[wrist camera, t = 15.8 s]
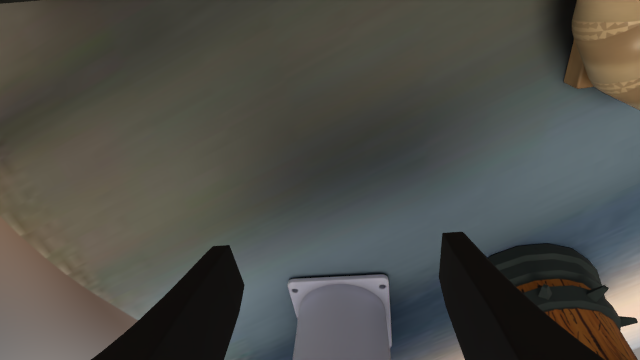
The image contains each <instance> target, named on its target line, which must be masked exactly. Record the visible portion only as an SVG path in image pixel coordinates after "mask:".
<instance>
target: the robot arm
mask: <svg viewBox="0 0 640 360" xmlns="http://www.w3.org/2000/svg"><path fill="white" fill-rule="evenodd" d="M439 279H440V284H441V288H442V292H443V296H444V301H445V305H446V308H447V311H448V314H449V317H450V319H451V322H452V325H453V328H454V331H455V333H456V336H457V339H458V342H459V344H460V347H461V350H462V353H463V355H464V358H465V360H605V359H603V358H602V357H601V356H599V355H598V354H596V353H595V352H594V351H592V350H591V349H590V348H588V347H587V346H586V345H584V344H583V343H582V342H580V341H579V340H578V339H577V338H575V337H574V336H573V335H572V334H570V333H569V332H568V331H566V330H565V329H564V328H563V327H561V326H560V325H559V324H558V323H557V322H555V321H554V320H553V319H552V318H551V317H549V316H548V315H547V314H546V313H545V312H544V311H542V310H541V309H540V308H539V307H538V306H537V305H536V304H534V303H533V302H532V301H531V300H530V299H529V298H528V297H527V296H526V295H524V294H523V293H522V292H521V291H520V290H519V289H518V288H517V287H516V286H515V285H514V284H513V283H512V282H511V281H510V280H509V279H508V278H507V277H506V276H505V275H504V274H502V273H501V272H500V271H499V270H498V269H497V268H496V267H495V266H494V265H493V263H492V262H491V261H490V260H489V259H488V258H487V257H486V256H485V255H484V254H483V253H482V252H481V251H480V250H479V249H478V248H477V247H476V245H475V244H474V243H473V242H472V241H471V240H470V239H469V238H468V237H467V236H466V235H465V234H464V233H463V232H451V233H443V234H442V246H441V258H440V270H439ZM382 284H383V285H382ZM288 289H289V292H290V296H291V299H292V303H293V306H294V309H295V313H296V316H297V319H298V324H297V331H296V339H295V346H294V353H293V360H391V353H390V347H391V346H392V335H391V316H390V298H389V281H388V277H387V276H386V275H383V274H379V275H359V276H339V277H320V278H300V279H291V280H289V281H288ZM243 290H244V282H243V280H242V277H241V275H240V272H239V269H238V267H237V264H236V261H235V259H234V256H233V253H232V251H231V248H230V246H229V245H226V246H213V247H212V248H211V249H210V250H209V251H208V252H207V253H206V254H205V255H204V256H203V257H202V258H201V259H200V260H199V261H198V262H197V263H196V264H195V265H194V266H193V267H192V268H191V269H190V270H189V271H188V273H187V274H186V275H185V276H184V277H183V278H182V279H181V280H180V281H179V282H178V283H177V284H176V285H175V286H174V287H173V288H172V289H171V290H170V291H169V292H168V293H167V294H166V295H165V296H164V297H163V298H162V299H161V300H160V301H159V302H158V303H157V304H156V305H154V306H153V307H152V308H151V309H150V310H149V311H148V312H147V313H146V314H145V315H144V316H143V317H142V318H141V319H140V320H139V321H138V322H136V323H135V324H134V325H133V326H132V327H131V328H130V329H128V330H127V331H126V332H125V333H124V334H123V335H121V336H120V337H119V338H118V339H117V340H115V341H114V342H113V343H112V344H111V345H109V346H108V347H107V348H106V349H104V350H103V351H102V352H101V353H99V354H98V355H97V356H95V357H94V358H93V359H91V360H224V357H225V354H226V351H227V348H228V345H229V342H230V339H231V336H232V333H233V330H234V327H235V324H236V321H237V318H238V315H239V311H240V306H241V301H242V296H243Z"/></svg>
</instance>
